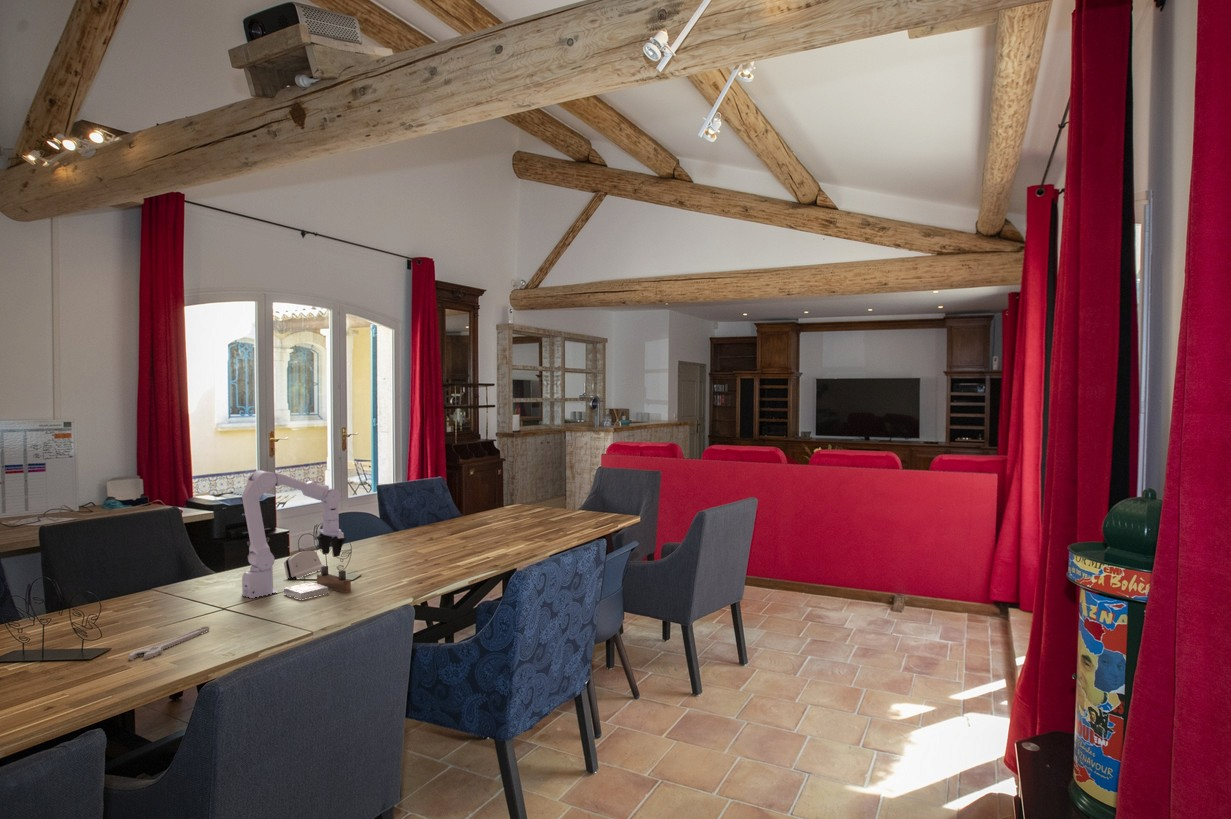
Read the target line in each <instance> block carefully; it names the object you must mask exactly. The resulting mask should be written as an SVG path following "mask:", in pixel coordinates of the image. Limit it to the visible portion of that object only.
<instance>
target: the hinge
mask: <svg viewBox="0 0 1231 819" xmlns="http://www.w3.org/2000/svg"><path fill="white" fill-rule="evenodd" d="M283 565H284V571H285V575H286V579H287V578H289V579H292V578H296V579H297V578H300V577H302V576H304V575H307V574H309V573H312V572H315V571H318V570H321V567H322V566H325V565H324V564H323V563H322V562H321V559H320V557H319V555H318V552H317V551H315V550H303V551H299V552H297V553H294V554H292V555H291V556H289V557H288V558H286V559H285V560H284V561H283ZM291 577H292V578H291ZM300 579H301V578H300Z"/></svg>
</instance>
